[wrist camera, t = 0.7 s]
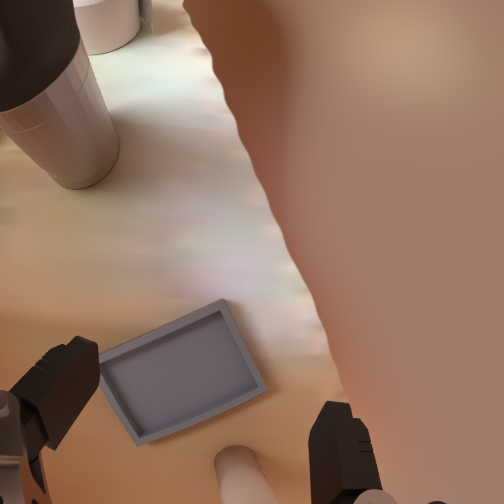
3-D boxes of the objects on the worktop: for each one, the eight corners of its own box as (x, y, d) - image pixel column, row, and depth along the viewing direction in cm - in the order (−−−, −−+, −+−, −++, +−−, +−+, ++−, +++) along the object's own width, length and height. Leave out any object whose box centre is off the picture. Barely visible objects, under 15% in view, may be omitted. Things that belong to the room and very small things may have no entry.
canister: (205, 455, 29) (218, 535, 16) (245, 437, 31) (279, 511, 17) (225, 484, 29) (247, 563, 15) (264, 467, 30) (303, 540, 17)
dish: (92, 356, 29) (86, 360, 27) (221, 298, 32) (223, 298, 30) (139, 438, 28) (137, 446, 26) (264, 384, 32) (268, 390, 30)
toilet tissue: (74, 24, 32) (61, -20, 23) (145, 3, 35) (143, -43, 25) (73, 64, 32) (55, 17, 22) (154, 40, 34) (151, -12, 25)
